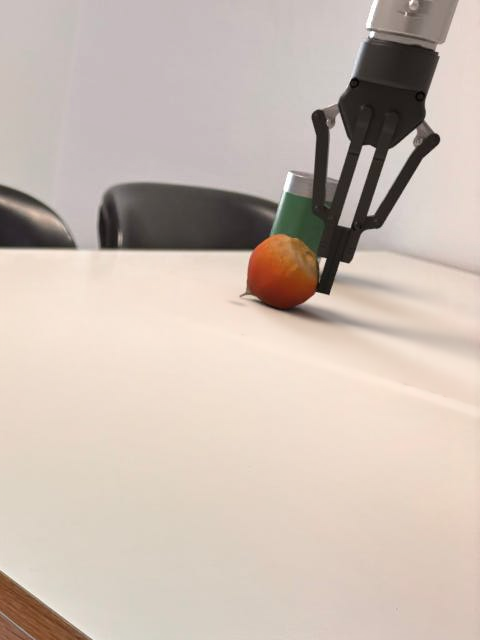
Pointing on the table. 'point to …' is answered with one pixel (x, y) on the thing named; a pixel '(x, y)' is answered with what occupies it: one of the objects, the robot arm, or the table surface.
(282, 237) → the fruit
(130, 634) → the table surface
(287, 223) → the tin can
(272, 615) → the table surface
